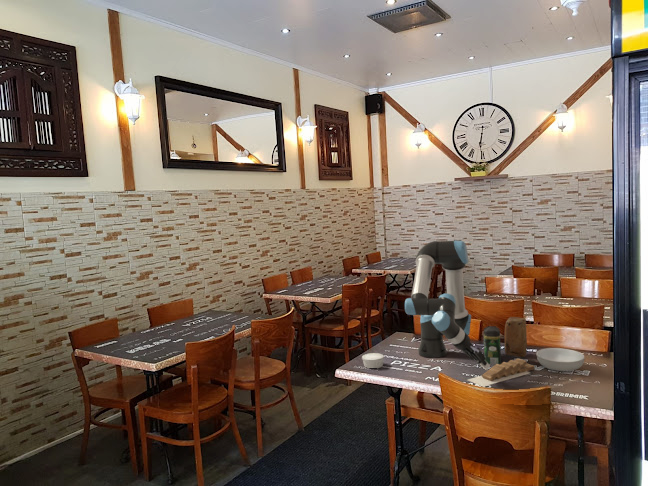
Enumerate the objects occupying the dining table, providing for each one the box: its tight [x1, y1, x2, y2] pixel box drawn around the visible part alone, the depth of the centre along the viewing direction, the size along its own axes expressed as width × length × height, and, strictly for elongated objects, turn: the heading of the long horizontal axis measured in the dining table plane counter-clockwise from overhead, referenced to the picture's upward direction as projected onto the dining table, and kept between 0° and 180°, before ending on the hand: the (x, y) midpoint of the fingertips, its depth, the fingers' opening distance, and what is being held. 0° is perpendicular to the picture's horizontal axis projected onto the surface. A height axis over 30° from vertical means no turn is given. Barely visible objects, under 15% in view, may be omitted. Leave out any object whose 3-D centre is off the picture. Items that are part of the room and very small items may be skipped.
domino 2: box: [496, 361, 513, 379], centre depth 223 cm, size 2×5×10 cm
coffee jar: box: [483, 325, 502, 366], centre depth 242 cm, size 10×8×19 cm
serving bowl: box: [536, 347, 585, 372], centre depth 231 cm, size 21×21×7 cm
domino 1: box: [481, 364, 506, 381], centre depth 221 cm, size 2×5×10 cm
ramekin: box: [361, 352, 385, 369], centre depth 249 cm, size 11×11×5 cm
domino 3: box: [503, 359, 520, 377], centre depth 225 cm, size 2×5×10 cm
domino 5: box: [517, 363, 535, 373], centre depth 229 cm, size 2×5×10 cm
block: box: [504, 316, 528, 358], centre depth 252 cm, size 11×8×20 cm
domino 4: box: [511, 357, 528, 375], centre depth 227 cm, size 2×5×10 cm
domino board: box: [467, 371, 531, 388], centre depth 222 cm, size 30×10×1 cm, turn 117°
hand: (487, 367), depth 219 cm, fingers closed
